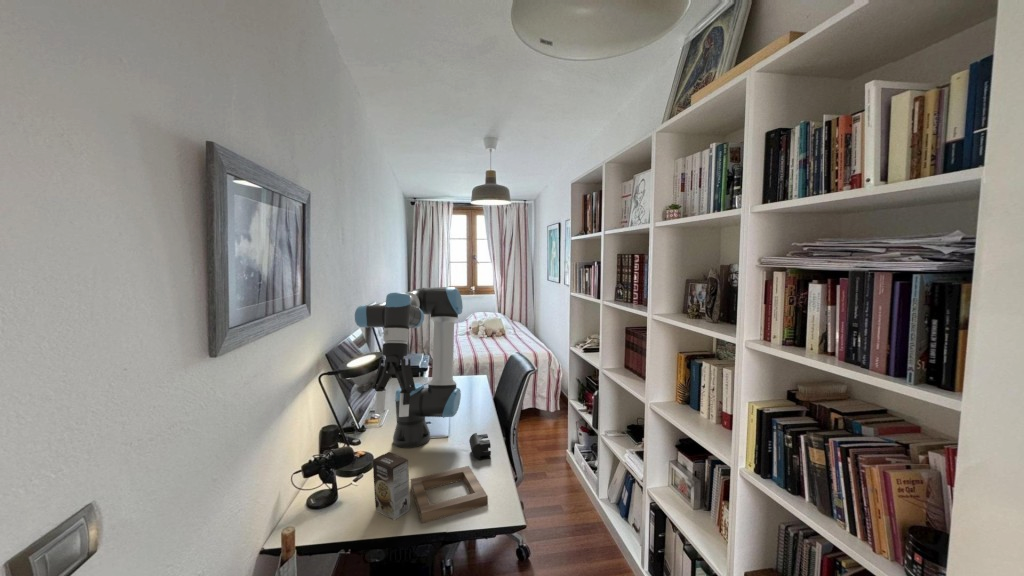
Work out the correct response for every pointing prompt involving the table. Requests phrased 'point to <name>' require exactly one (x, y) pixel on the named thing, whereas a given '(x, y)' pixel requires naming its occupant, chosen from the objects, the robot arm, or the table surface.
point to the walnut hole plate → (453, 505)
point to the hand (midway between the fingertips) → (391, 414)
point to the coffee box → (391, 485)
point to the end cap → (480, 446)
